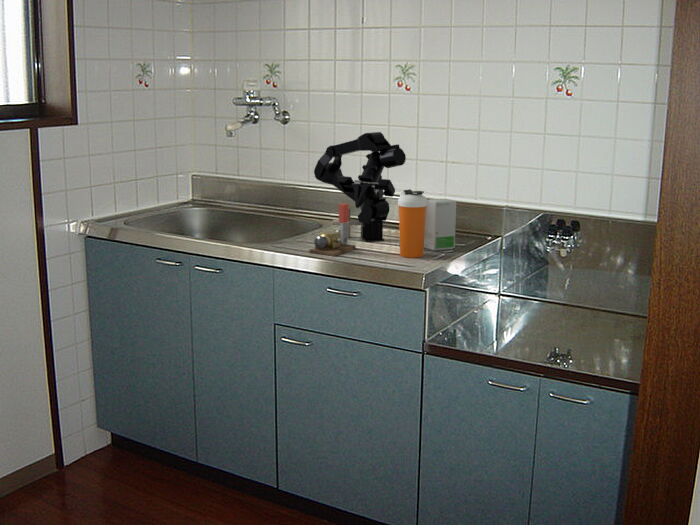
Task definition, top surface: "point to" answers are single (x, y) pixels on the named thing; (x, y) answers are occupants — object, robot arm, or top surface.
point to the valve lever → (343, 223)
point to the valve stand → (330, 244)
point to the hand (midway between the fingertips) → (356, 207)
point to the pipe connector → (348, 223)
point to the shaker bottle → (412, 223)
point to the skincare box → (440, 224)
